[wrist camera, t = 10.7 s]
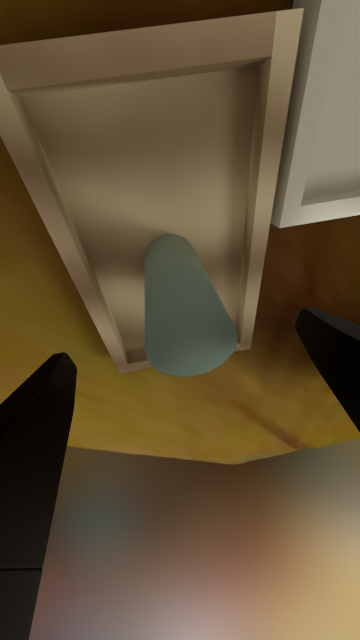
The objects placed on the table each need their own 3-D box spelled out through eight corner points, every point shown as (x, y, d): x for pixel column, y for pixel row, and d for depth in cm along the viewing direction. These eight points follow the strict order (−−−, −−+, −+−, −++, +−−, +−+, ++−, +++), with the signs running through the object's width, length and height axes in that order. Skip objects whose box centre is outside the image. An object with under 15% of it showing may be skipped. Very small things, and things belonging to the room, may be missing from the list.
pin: (193, 229, 13) (240, 301, 6) (197, 278, 15) (235, 367, 9) (138, 238, 13) (133, 320, 6) (150, 287, 15) (154, 382, 9)
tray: (-12, 67, 8) (-43, 50, 7) (278, 30, 9) (303, 7, 7) (121, 358, 20) (119, 373, 18) (243, 335, 20) (250, 348, 19)
